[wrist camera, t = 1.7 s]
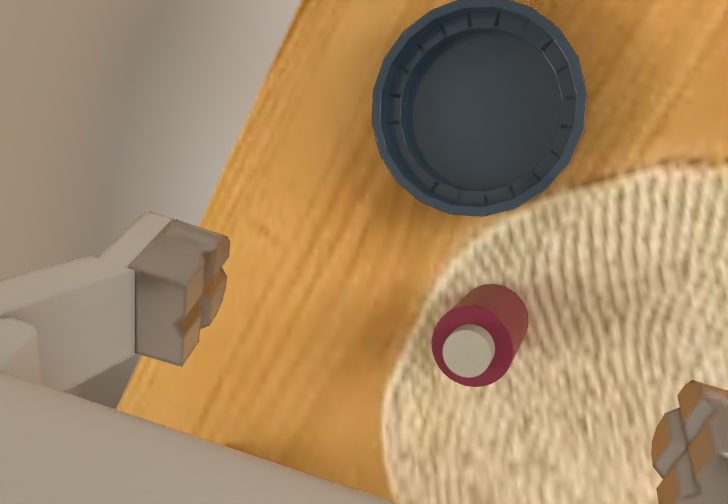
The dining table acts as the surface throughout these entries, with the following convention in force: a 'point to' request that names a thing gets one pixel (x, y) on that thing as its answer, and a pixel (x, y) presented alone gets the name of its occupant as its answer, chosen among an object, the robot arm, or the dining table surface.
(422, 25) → the bowl
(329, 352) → the dining table surface
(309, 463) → the dining table surface
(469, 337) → the yogurt bottle
